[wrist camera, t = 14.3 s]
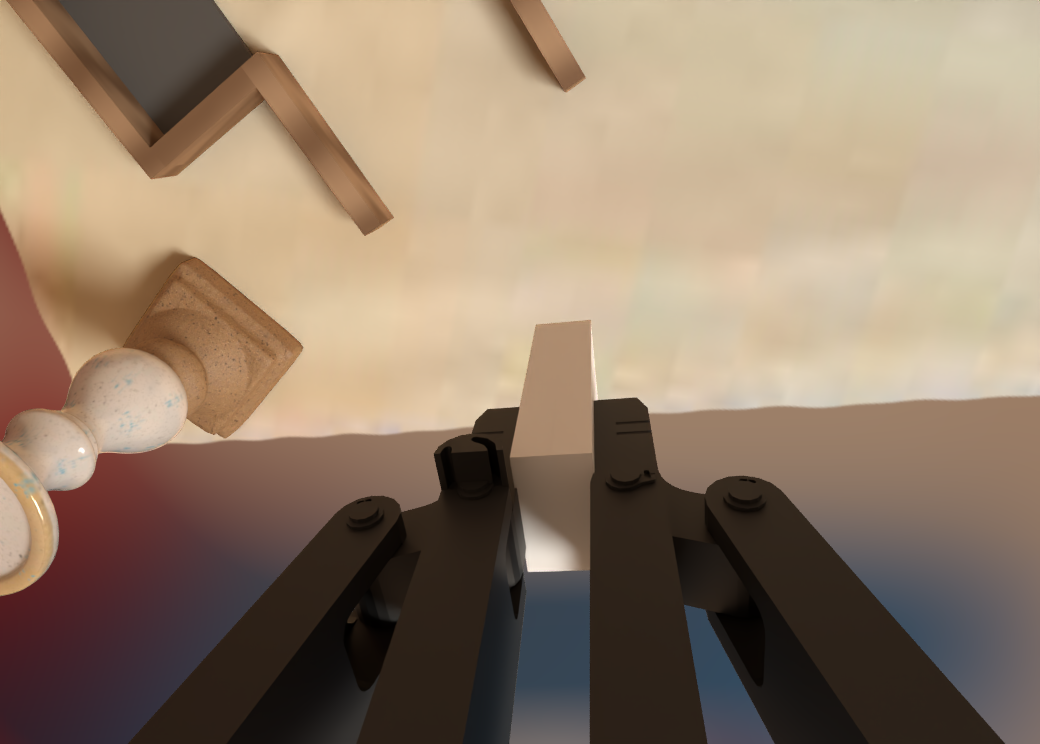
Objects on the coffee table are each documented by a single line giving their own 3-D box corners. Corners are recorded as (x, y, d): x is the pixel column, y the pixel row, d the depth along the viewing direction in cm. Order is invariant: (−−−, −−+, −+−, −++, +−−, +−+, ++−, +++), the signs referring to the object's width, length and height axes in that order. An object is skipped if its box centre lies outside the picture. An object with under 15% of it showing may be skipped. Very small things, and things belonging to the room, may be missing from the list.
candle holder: (194, 254, 50) (-121, 365, 28) (306, 346, 52) (92, 518, 30) (130, 348, 54) (-192, 511, 32) (236, 432, 56) (1, 639, 34)
